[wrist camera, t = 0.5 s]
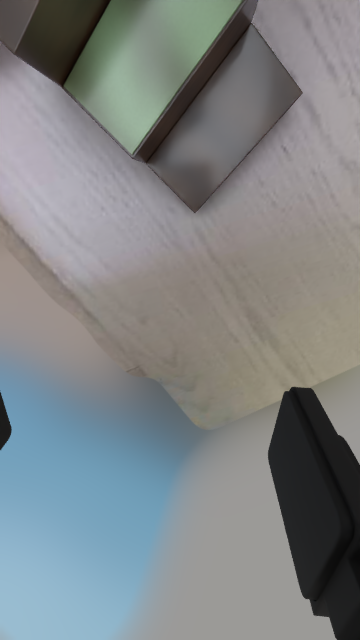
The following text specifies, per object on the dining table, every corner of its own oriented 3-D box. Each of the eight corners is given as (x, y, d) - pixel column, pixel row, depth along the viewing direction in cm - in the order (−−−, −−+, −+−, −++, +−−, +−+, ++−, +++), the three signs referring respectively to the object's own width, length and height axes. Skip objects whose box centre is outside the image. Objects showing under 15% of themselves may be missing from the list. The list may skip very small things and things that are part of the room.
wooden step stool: (131, -106, 23) (22, -569, 9) (290, 103, 29) (380, 24, 14) (47, 59, 28) (-109, -67, 14) (195, 210, 34) (192, 230, 19)
